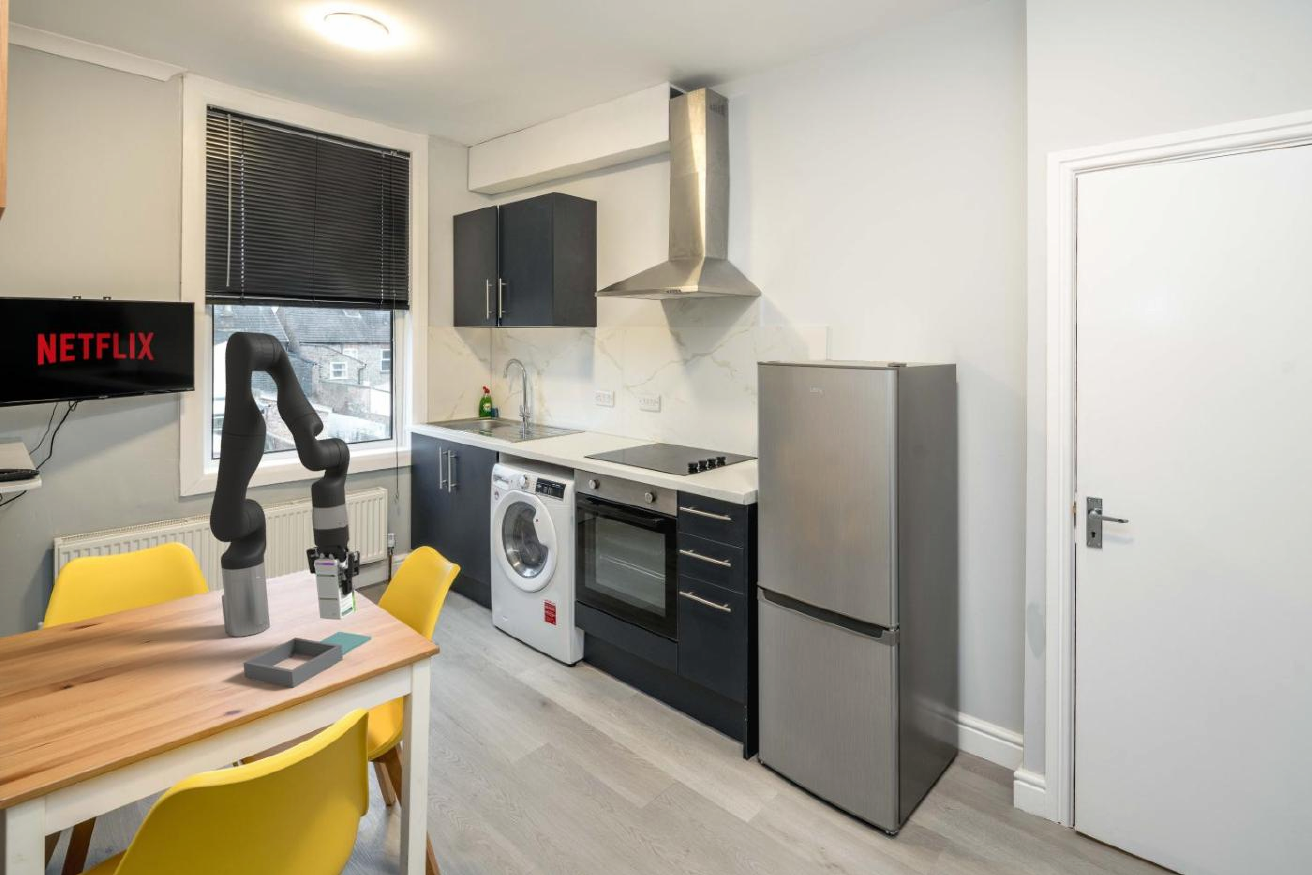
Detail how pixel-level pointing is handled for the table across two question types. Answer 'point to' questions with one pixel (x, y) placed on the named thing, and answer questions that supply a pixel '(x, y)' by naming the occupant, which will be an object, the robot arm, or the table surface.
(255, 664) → the bin
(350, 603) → the syrup box
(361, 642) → the mat
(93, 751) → the table surface
